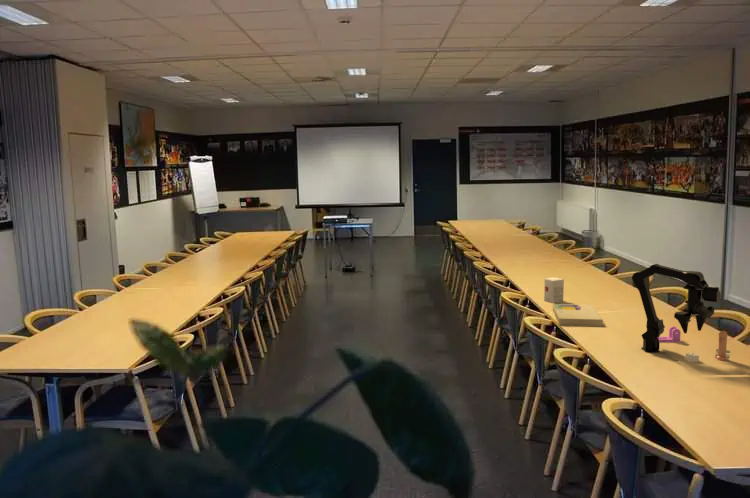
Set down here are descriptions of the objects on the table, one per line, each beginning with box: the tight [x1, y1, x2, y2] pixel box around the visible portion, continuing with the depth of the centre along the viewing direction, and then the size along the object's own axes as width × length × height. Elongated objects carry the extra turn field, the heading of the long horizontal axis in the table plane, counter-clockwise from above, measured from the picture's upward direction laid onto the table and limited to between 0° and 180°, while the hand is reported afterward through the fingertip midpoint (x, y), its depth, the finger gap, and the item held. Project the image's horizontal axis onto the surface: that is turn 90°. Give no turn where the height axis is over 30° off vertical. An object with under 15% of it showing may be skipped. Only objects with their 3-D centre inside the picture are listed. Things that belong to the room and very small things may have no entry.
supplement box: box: [543, 276, 565, 304], centre depth 419 cm, size 9×9×15 cm
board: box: [714, 348, 731, 362], centre depth 300 cm, size 20×6×1 cm, turn 150°
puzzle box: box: [552, 303, 604, 327], centre depth 377 cm, size 36×5×24 cm
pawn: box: [716, 330, 728, 362], centre depth 294 cm, size 5×5×13 cm
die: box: [685, 352, 700, 363], centre depth 294 cm, size 4×4×4 cm
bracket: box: [658, 326, 682, 343], centre depth 328 cm, size 13×6×7 cm, turn 83°
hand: (692, 332), depth 298 cm, fingers open, 9 cm apart
